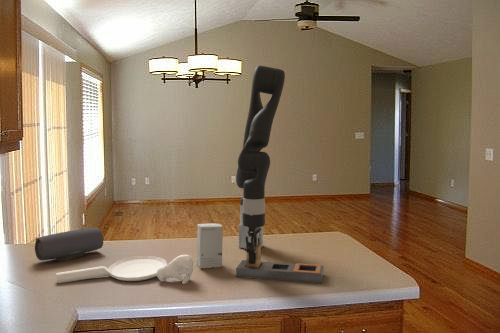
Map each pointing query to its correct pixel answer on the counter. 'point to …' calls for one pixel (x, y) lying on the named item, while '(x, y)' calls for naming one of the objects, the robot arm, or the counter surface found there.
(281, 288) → the counter surface
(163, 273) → the white animal figurine
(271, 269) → the graphite rail
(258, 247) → the oak peg
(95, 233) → the bluetooth speaker
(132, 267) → the frying pan
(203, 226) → the skincare box
